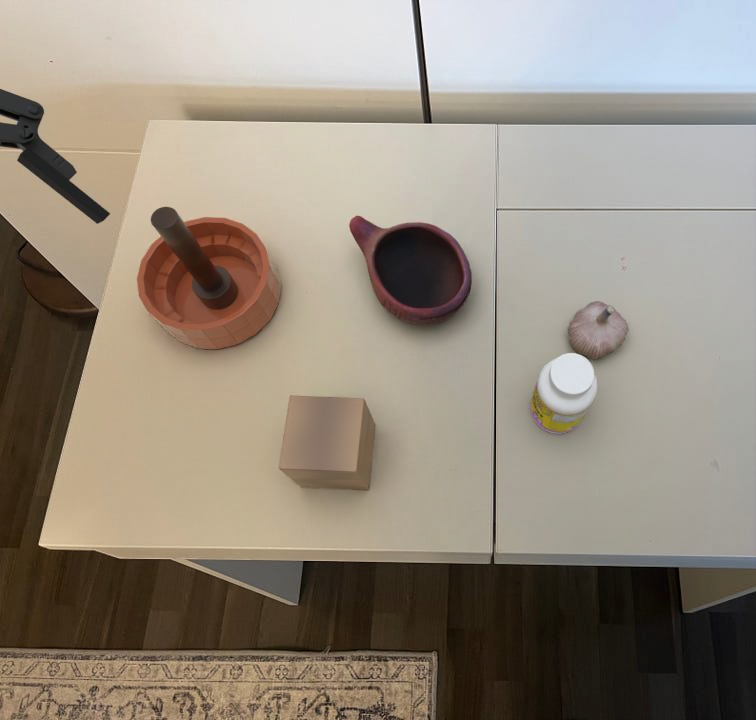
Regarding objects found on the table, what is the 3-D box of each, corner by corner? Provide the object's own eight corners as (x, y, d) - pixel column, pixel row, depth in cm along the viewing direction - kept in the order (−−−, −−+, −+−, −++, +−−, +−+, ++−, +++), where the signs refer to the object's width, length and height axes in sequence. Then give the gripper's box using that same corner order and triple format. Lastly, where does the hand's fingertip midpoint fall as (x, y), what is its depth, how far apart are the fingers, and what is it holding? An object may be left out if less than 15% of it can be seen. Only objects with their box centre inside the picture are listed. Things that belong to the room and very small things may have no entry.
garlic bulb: (624, 314, 86) (639, 285, 79) (623, 366, 83) (639, 341, 76) (567, 309, 86) (577, 279, 79) (564, 360, 83) (574, 334, 76)
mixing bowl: (192, 373, 82) (170, 353, 76) (140, 281, 86) (116, 256, 80) (303, 310, 85) (291, 287, 79) (248, 225, 90) (232, 197, 84)
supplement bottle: (530, 382, 82) (541, 341, 70) (582, 385, 82) (603, 344, 70) (529, 434, 80) (541, 401, 68) (583, 436, 80) (605, 404, 68)
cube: (300, 487, 77) (278, 468, 67) (309, 421, 80) (289, 395, 70) (369, 490, 77) (356, 472, 67) (375, 424, 80) (364, 398, 70)
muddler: (210, 316, 84) (152, 244, 68) (194, 288, 85) (133, 212, 69) (244, 297, 85) (194, 222, 69) (227, 270, 86) (175, 191, 70)
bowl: (477, 255, 89) (478, 221, 82) (465, 341, 84) (465, 313, 77) (359, 242, 89) (350, 207, 82) (341, 327, 84) (330, 298, 77)
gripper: (-133, -65, 44) (142, 174, 55) (-509, 201, 36) (-94, 418, 47) (-145, -120, 38) (165, 159, 49) (-598, 182, 30) (-100, 435, 41)
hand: (39, 286), depth 48 cm, fingers open, 13 cm apart
